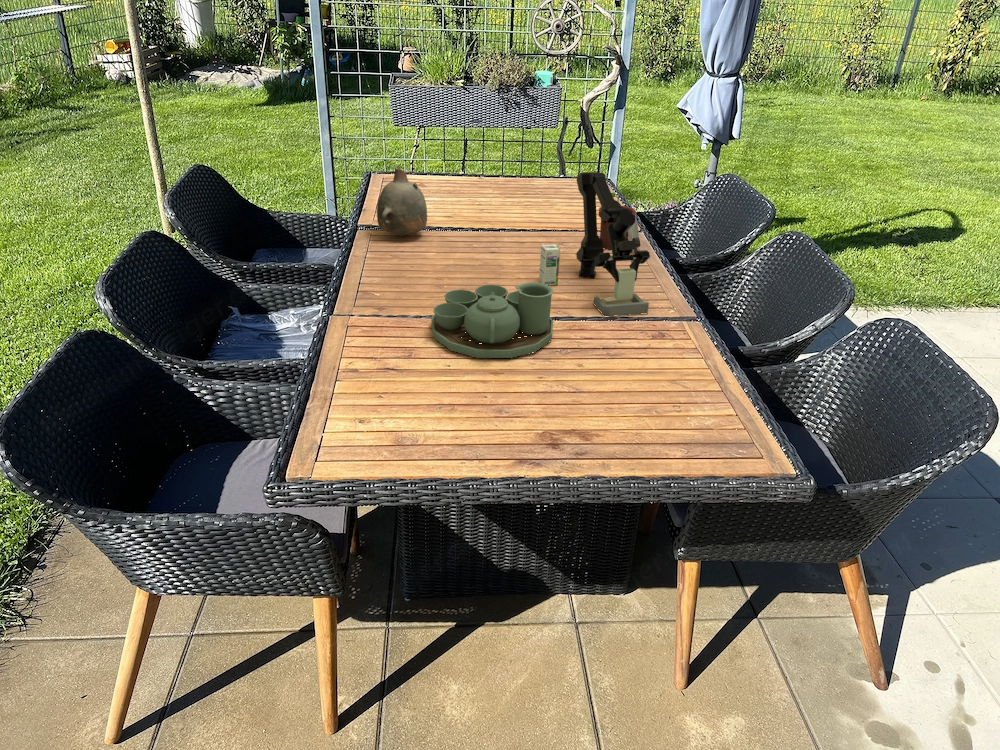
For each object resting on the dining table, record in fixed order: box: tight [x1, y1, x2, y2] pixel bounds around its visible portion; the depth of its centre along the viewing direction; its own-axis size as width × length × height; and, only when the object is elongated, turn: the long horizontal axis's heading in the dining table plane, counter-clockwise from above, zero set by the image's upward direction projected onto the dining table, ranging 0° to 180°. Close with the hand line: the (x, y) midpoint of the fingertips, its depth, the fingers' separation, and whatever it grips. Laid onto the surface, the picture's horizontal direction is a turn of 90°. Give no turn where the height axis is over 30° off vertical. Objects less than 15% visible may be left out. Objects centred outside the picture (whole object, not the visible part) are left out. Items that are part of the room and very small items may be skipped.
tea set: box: [430, 281, 555, 359], centre depth 224 cm, size 40×40×16 cm
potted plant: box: [598, 188, 640, 255], centre depth 294 cm, size 18×22×25 cm
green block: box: [612, 268, 636, 300], centre depth 241 cm, size 3×6×10 cm, turn 105°
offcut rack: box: [592, 292, 650, 317], centre depth 245 cm, size 11×16×4 cm
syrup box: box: [538, 243, 561, 286], centre depth 261 cm, size 6×6×14 cm
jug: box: [376, 165, 428, 237], centre depth 297 cm, size 24×21×30 cm
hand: (626, 281), depth 239 cm, fingers closed on green block, 6 cm apart
